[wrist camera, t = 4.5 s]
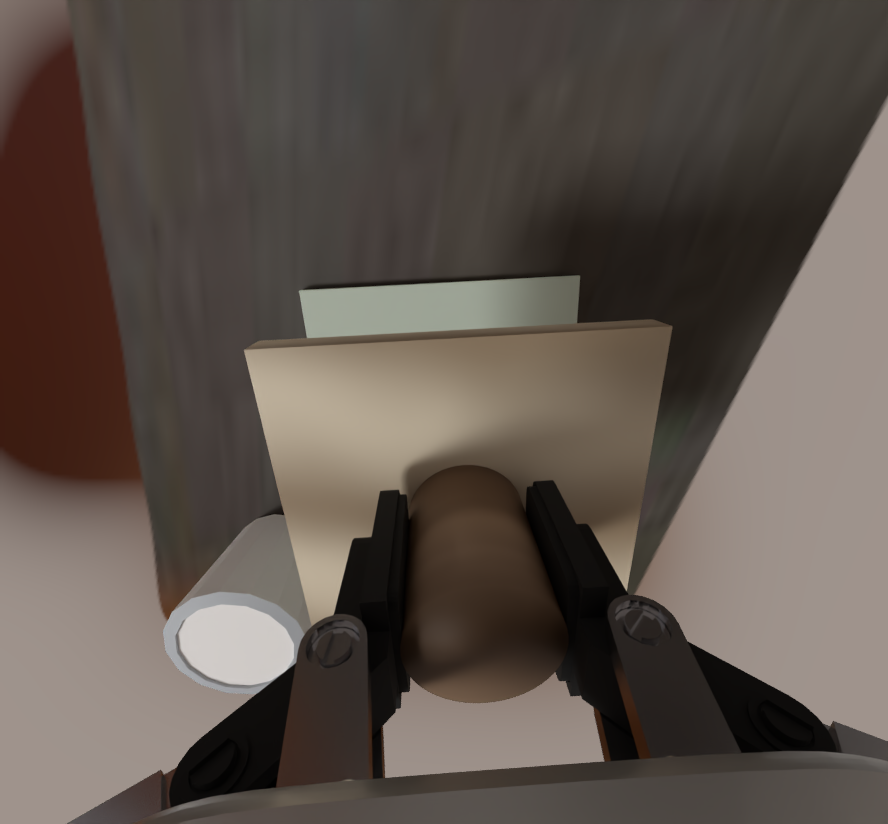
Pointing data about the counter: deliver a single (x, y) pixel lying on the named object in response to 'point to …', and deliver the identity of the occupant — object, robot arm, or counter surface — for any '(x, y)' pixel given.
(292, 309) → the counter surface
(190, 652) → the white cup
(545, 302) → the mat
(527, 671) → the lid
